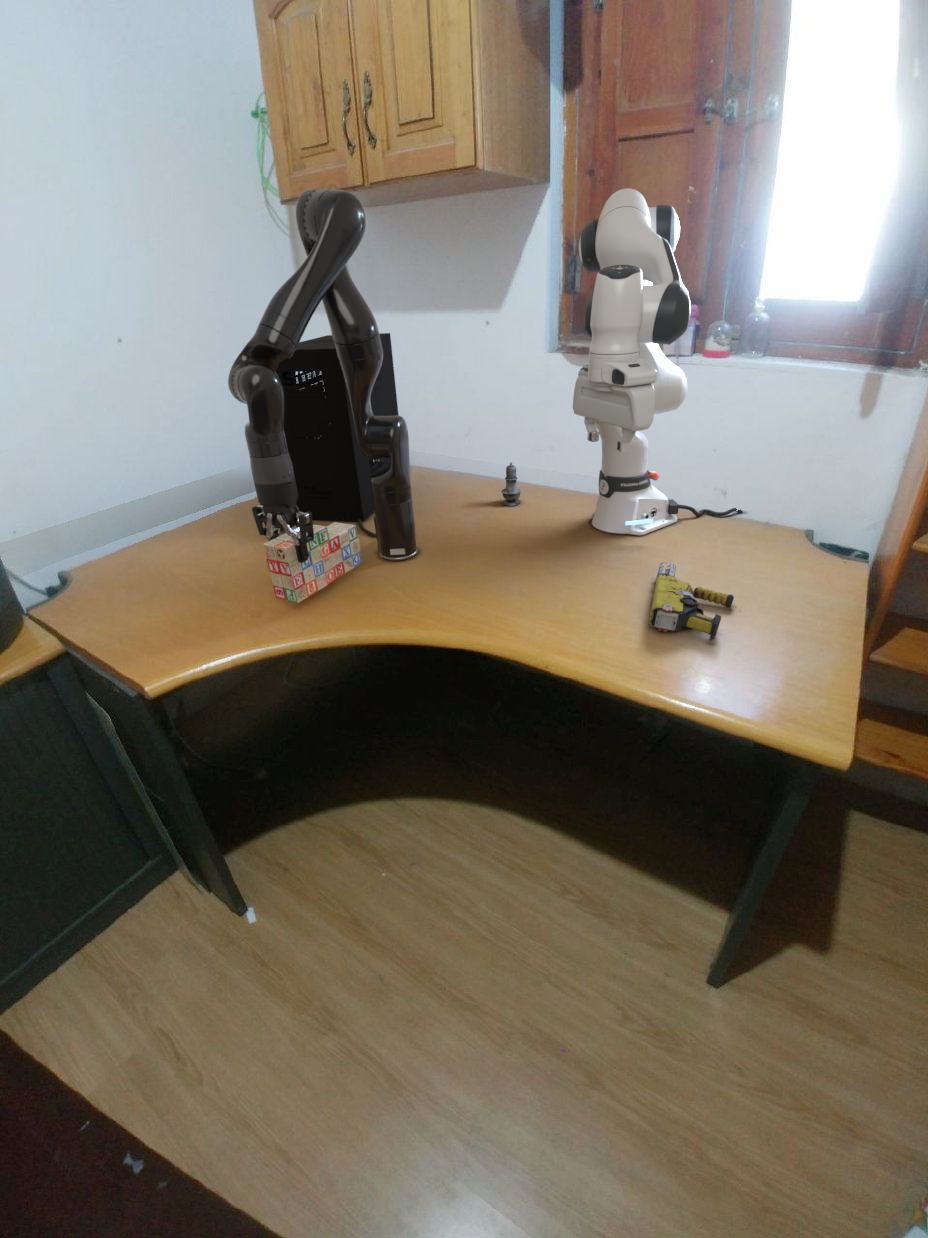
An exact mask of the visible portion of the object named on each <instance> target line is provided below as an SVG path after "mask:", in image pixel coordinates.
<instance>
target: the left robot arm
mask: <svg viewBox="0 0 928 1238" xmlns="http://www.w3.org/2000/svg"><path fill="white" fill-rule="evenodd" d="M295 221H296V226H297V231H298V234H299V235H298V236H299V237H300V241H301V244H302V246H303V249H304V252H305V254H306V258H305V260H304V261H303V262H302V264H301V265H300V266H299V267H298V268H297V269H296V271H295V272H294V273H293V274H292V275H291V276H290V277H289V278H288V279H287V280H286V281H285V282H284V283H283V284H282V285H281V286H280V287H279V288H278V290H277V291H276V292H275V293H274V294H273V296H272V297H271V299H270V300H269V302H268V303H267V306H266V308H265V310H264V312H263V314H262V316H261V318H260V320H259V323H258V325H257V326H256V330H255V332H254V334H253V335H252V337H251V338H250V339H249V341H248V342H247V343H246V344H245V346H244V347H243V348H242V350H241V352H240V353H239V354H238V356H237V357H236V359H235V360H234V362H233V363H232V366H231V367H230V369H229V373H228V378H227V385H228V391H229V392H230V394H231V395H232V397H233V398H234V399H235V400H237V401H238V402H240V403H242V404H245V405H246V407H247V414H248V422H246V424H245V426H244V438H245V442H246V447H247V451H248V455H249V463H250V464H249V465H250V472H251V475H252V480H253V484H254V489H255V493H256V497H257V502H258V505H254V506H252V507H251V512H252V515H253V518H254V521H255V524H256V528H257V531H258V534H259V535H260V536H265V538H266V539H267V540H268V542H269V541H271V540H273V539H275V538H277V537H279V536H280V533H281V532H280V528H281V529H283V530H285V531H286V533H287V534H288V536H291V537H292V539H293V541H294V543H295V544H296V545H295V549H296V553H297V558H298V562H301V563H303V562H305V561H306V560H308V558H309V554H308V549H307V543H308V542H310V541H312V540H314V531H313V525H314V520H312V514H311V512H309V511H308V512H306V513H304V512H301V511H299V509H298V507H297V504H296V502H297V499H298V492H297V486H296V481H295V476H294V471H293V465H292V461H291V458H290V455H289V452H288V447H287V441H286V437H285V432H284V392H283V387H282V384H281V381H280V379H279V377H278V375H277V374H276V372H275V371H276V370H277V368H278V366H279V365H280V364H281V363H283V362H286V361H288V360H289V359H290V358H291V357H292V355H293V354H294V352H295V350H296V348H297V346H298V344H299V342H301V339H302V337H303V336H304V333H305V331H306V329H307V327H308V325H309V323H310V321H311V319H312V317H313V315H314V313H315V311H316V310H317V308H318V306H319V304H321V302H322V304H323V305H322V306H323V308H324V311H325V314H326V318H327V321H328V326H329V328H330V333H331V334H330V335H332V338H333V342H334V345H335V349H336V353H337V356H338V359H339V363H340V366H341V369H342V373H343V376H344V380H345V384H346V387H347V391H348V395H349V400H350V404H351V410H352V415H353V421H354V426H355V432H356V437H357V441H358V444H359V447H360V450H361V452H362V453H363V454H364V455H365V456H366V457H371V458H391V466H390V467H388V468H386V469H383V470H380V471H378V472H376V473H374V474H373V475H372V476H371V488H372V495H373V503H374V510H375V511H374V516H373V521H374V529H375V533H373V532H372V531H370V530H368V529H367V528H365V527H364V525H363V521H361V519H360V518H358V519H357V520H358V521H357V523H358V526H359V528H360V530H361V531H362V532H363V533H365V534H367V535H368V536H370V537H373V538H375V539H376V544H377V545H376V546H377V551H378V553H379V557H380V558H381V559H383V560H386V561H392V562H394V561H395V562H396V561H397V562H398V561H399V562H400V561H407V560H409V559H411V558H414V557H415V556H416V555H417V554H418V552H419V551H418V545H417V535H416V524H415V523H416V522H415V513H414V512H415V511H414V503H413V493H412V483H411V461H410V459H411V458H410V438H409V429H408V425H407V422H406V419H405V418H404V417H403V416H401V415H399V416H397V415H374V414H373V413H372V409H371V402H370V397H371V392H372V389H373V386H374V383H375V381H376V378H377V376H378V373H379V371H380V368H381V365H382V360H383V350H382V345H381V340H380V336H379V333H380V331H379V328H378V327H379V326H378V324H377V321H376V318H375V316H374V314H373V312H372V310H371V309H370V307H369V305H368V304H367V302H366V300H365V298H363V295H362V294H361V293H360V291H359V290H358V288H357V286H356V284H355V283H354V281H353V279H352V277H351V275H350V272H349V270H348V266H347V264H348V263H349V261H350V260H351V258H352V257H353V256H354V254H355V253H356V252H357V250H358V248H359V246H360V245H361V243H362V240H363V239H364V235H365V232H366V225H367V224H366V222H367V220H366V213H365V209H364V207H363V204H362V202H361V201H360V199H359V198H358V197H357V196H356V195H355V194H353V193H352V192H350V191H347V190H344V189H336V188H335V189H334V188H320V187H319V188H316V187H315V188H308V189H305V190H304V191H302V192H301V193H300V194H299V196H298V198H297V201H296V205H295ZM263 524H264V525H263ZM295 525H296V529H294V530H292V529H291V528H293V527H294V526H295ZM296 533H298V534H299V536H300V537H301V538H298V536H297V534H296ZM307 534H308V535H307Z"/></svg>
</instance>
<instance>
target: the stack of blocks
mask: <svg viewBox="0 0 928 1238" xmlns="http://www.w3.org/2000/svg"><path fill="white" fill-rule="evenodd" d="M294 529H296V528H294ZM294 529H292V530H294ZM313 531H314V540H312V541H310V542H308V543H307V549H308V554H309V558H308V560H306V561H305V562H303V563H301V562H298V558H297V553H296V549H295V545H296V544H295V543H294V541H293V539H292V537H291V536H288V534H287V533H285V534H283V533H282V534H281V535H279V536H278V537H277V538H275V539H273V540H271V541H269V540H268V541H267V542H264V543H263V549H264V552H265V556H266V563H267V567H268V571H269V575H270V578H271V581H272V587H273V592H274V595H275V598H276V599H279V600H283V601H287V602H290V603H294V604H299V603H301V602H302V601H304V600H306V599H307V598H309V597H311V596H312V595H314V594H316V593H317V592H319V591H321V590H322V589H324V588H325V587H326V586H328V585H329V584H330V583H332V582H334V581H336V580H337V579H338V578H339V577H342V576H343V575H345V574H347V573H348V572H349V571H351V570H353V569H355V568H356V567H358V566H359V565H361V564H362V563H363V558H362V553H361V546H360V539H359V535H358V529H357V525H355V524H350V523H343V522H339V521H334V522H332V523H330V524H329V525H327V526H325V525H319V524H313ZM296 534H297V536H298V538H301V537H300V536H299V534H298V533H296ZM307 535H308V534H307Z"/></svg>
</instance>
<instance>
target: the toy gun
mask: <svg viewBox="0 0 928 1238" xmlns="http://www.w3.org/2000/svg"><path fill="white" fill-rule="evenodd" d="M658 566H659V567H658V571H657V575H656V578H655V583H654V588H653V594H652V600H651V606H650V611H649V612H650V614H649V618H648V623H649V625H650V626H651V627H653V628H657V631H659V632H661V631H662V632H664V633H667V632H668V631H672V632H677V631H678V632H679V631H682V630H684V629H685V628H689V629H693V630H696V631H700V632H703V633H705V634H707V635H710V640H715V638H716V636H717V634H718V630H719V627H720V623H721V621H722V620H721V619H722V615H720V614H718V613H716V614H715V615H714V617H710V616H708V615H705V614H704V613H705V612H704V610H703V609H702V608H700V607H699V604H698V603H699V602H698V600H699V599H701V600H703V601H708V603H714V604H715V605H719V604H720V605H721V606H724V607H726V608H731V607H732V605H733V602H734V599H735V596H734V595H733V594H728V593H722V592H721V591H718V592H717V591H716V590H715V589H714V590H710V589H708V588H703V587H702V586H697V587H695V588H694V589H693V587H692V585H691V584H690V583H689V582H686V581H682V580H679V579H677V578H675V577H676V568H677V565H676V564H675V563H671V562H670V563H669V565H667V562H665V561H662V562H660V563H659V565H658ZM667 567H668V568H667ZM697 599H698V600H697Z"/></svg>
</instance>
